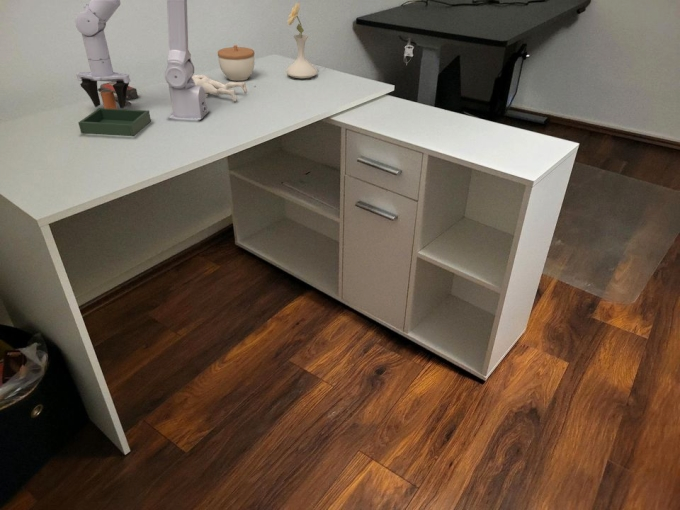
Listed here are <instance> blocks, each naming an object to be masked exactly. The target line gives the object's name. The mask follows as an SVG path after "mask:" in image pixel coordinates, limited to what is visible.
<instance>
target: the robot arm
mask: <svg viewBox="0 0 680 510" xmlns="http://www.w3.org/2000/svg"><path fill="white" fill-rule="evenodd" d="M120 6H121V0H90V1H88V3H85V4H84V5H83V8H84V11H80V12H77V14H76V17H75V20H74V23H75V27H76V29H77V31H78V32H79V33H81V37H82V41H83V45H84V49H85V53H86V58H87V61H88V66H89V69H90V71H86V72H85V71H79V72H77V73H76V78H77V81H78V82H81V83H80V84H79V85H80V87H81V89H83V90H84V91H85V92H86V94H87V95H88V97H89V98H90V100H91V102H92V103H93V106H94V107H95V108H99V106H101V99H100V94H99V91H98V89H99V88H98V82H107V83H109V82H116V83H115V84H114V85H113V88H114V90H115V92H116V94H117V97H118V101H117V102H118V105H119V109H124V108H125V107H126V106H127V104H126V101H127V100H126V92H127V88H128V86H130V82H131V76H130V74H128V73H120V72H115V71H114V69H113V65H112V59H111V55H110V52H109V51H110V50H109V48H108V46H109V45H108V43H107V39H106V34H105V29H106V27H107V22H108V21H109V20H110V19H111V17H113V15H114V14H115V12H116V11H117V10H118V9H119V7H120ZM166 10H167V33H168V56H167V58H166V59H167V65H166V68H165V70H164V74H163V75H164V79H165V81H166V83H167V84H168V91H169V96H170V102H171V108H172V114H170V115H169V116H168V119H179V120H180V119H183V120H197V121H201V120H203V118H204V117H205V116H206V115H207V114H208V113H209V110H208V103H207V97H206V96H207V95H205V94H206V93H205V90H204V88H203V87H202V86H198V85H195V82H194V80H193V79H192V76H194V75H195V66H194V64H193V62H192V56H191V55H192V54H191V52H190V50H189V28H188V0H166Z"/></svg>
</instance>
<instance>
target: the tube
mask: <svg viewBox="0 0 680 510" xmlns="http://www.w3.org/2000/svg"><path fill="white" fill-rule="evenodd" d="M100 96H101V101H102V104H103V108H107V109H118V106H117V102H116V101H115V97H114V92H113V90H111V89H106V90H102V91H101V92H100Z"/></svg>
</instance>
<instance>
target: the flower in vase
mask: <svg viewBox="0 0 680 510" xmlns="http://www.w3.org/2000/svg"><path fill="white" fill-rule="evenodd" d="M300 7H301V5H300V2H295V4H294V6H292V8H291V11H290V14H288V16H287V17H288V19H287V21H286V24H287V26H291V25H293V23H294V22H295V21H296V18H297V20H298V24H297V25H296V30H297V32H299V34H295V35H294V36H293V39H294V40H295V42H296V47H297V58H296V59H295V61H293V62H292V63H291V64H290V65H289V66H288V67H287V68H286V70H285V74H286V75H287V76H289V77H291V78H294V79H309V78H312V77H315V76H316V75H317V74H318V70H317V68H316V67H315V65H313V64H312V63H311V62H310V61H308V60H307V59H306V56H305V48H306V47H305V46H306V42H307V40H308V37H309V36H308V35H306V34H303V32H304V31H305V30H304V28H303V26H302V23H301V21H300V18H299V16H298V14H299V12H300Z"/></svg>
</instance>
